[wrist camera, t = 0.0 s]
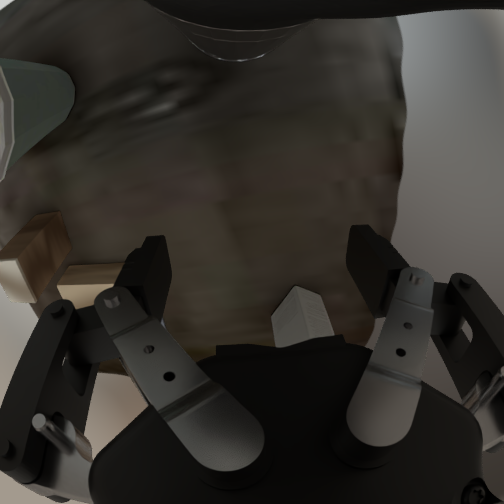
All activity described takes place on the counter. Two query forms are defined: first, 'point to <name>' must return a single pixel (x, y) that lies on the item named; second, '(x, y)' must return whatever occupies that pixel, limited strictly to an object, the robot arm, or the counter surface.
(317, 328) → the skincare box
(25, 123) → the disposable coffee cup
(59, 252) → the walnut block
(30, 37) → the counter surface
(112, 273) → the beech step
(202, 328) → the counter surface
